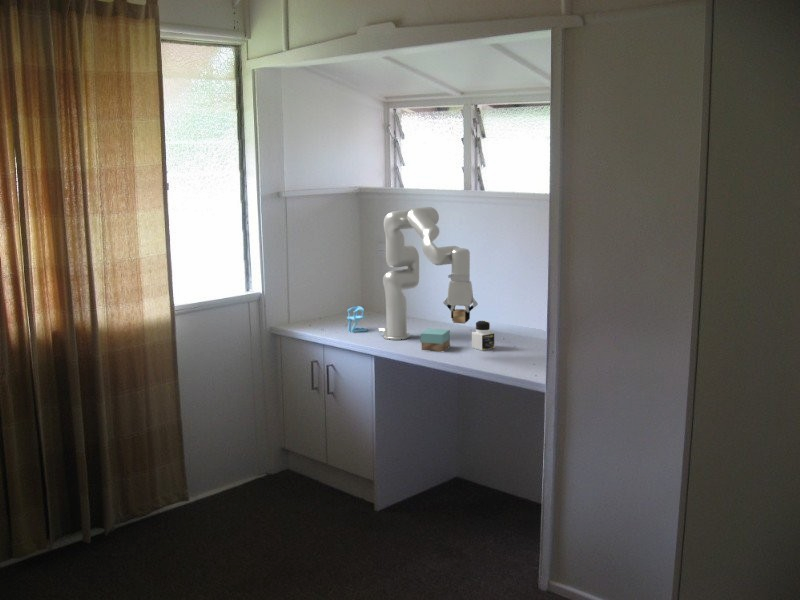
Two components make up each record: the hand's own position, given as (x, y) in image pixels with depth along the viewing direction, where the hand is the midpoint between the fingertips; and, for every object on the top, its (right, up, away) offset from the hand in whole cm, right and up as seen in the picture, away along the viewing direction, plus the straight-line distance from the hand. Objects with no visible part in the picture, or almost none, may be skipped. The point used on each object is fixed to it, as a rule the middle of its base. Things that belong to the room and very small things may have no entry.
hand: (460, 320), depth 353 cm
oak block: (0, -1, 0) cm, 1 cm away
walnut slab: (-10, -13, +15) cm, 23 cm away
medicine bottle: (+11, -13, +13) cm, 21 cm away
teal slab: (-10, -9, +15) cm, 20 cm away
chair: (-47, -7, +55) cm, 72 cm away
